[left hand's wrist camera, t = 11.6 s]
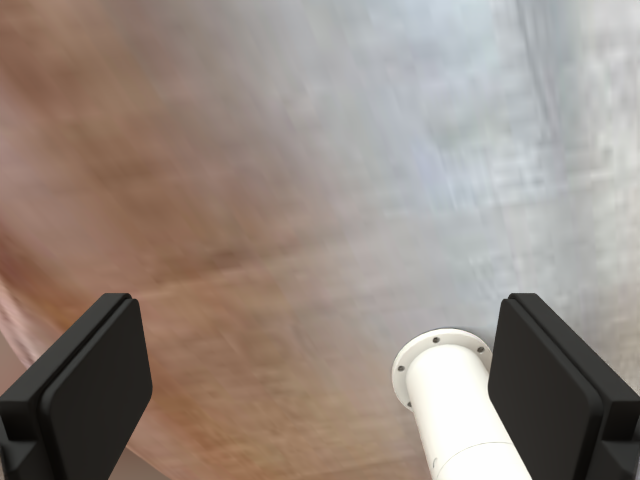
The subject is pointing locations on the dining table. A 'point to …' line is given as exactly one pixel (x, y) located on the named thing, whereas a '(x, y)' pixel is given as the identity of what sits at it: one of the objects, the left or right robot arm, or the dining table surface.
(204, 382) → the dining table surface
